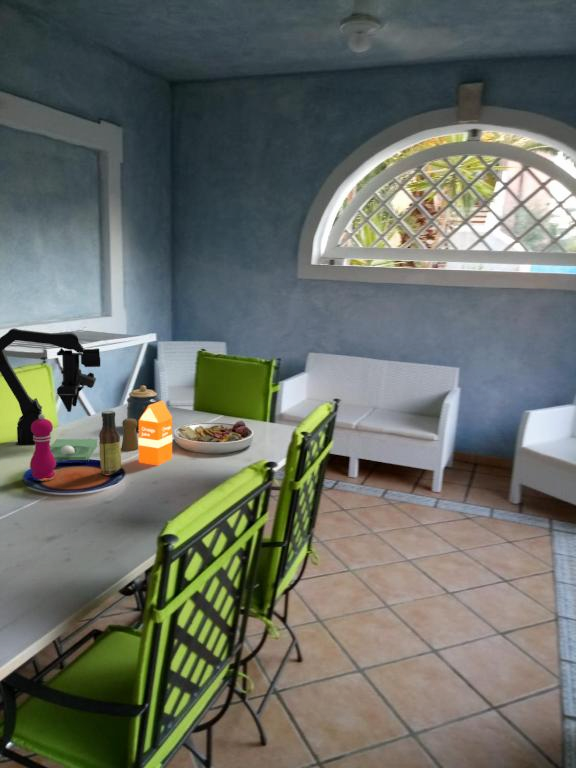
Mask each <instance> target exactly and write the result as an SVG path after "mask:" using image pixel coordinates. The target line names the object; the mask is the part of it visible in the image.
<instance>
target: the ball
mask: <svg viewBox="0 0 576 768" xmlns="http://www.w3.org/2000/svg"><path fill="white" fill-rule="evenodd" d="M74 452H75V450H74V448H73V447H72V446H69V445H66V446H64V447H63V448H62V449H61V452H60V453H63V454H69V453H74Z"/></svg>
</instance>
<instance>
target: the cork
mask: <svg viewBox="0 0 576 768" xmlns="http://www.w3.org/2000/svg"><path fill="white" fill-rule="evenodd" d="M121 424H122V427H123V433H122V434H123V435H122V442H121V447H120V449H121V450H122V451H126V452H134V451H138V450H139V439H138V433H137V431H136V427H137V420H136V419H133V418H128V419H127V418H125V419H123V421H122V423H121Z"/></svg>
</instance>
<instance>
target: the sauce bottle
mask: <svg viewBox="0 0 576 768" xmlns="http://www.w3.org/2000/svg"><path fill="white" fill-rule="evenodd" d="M101 418H102V420H101V421H102V426H101V430H100V431H99V435H98V437H99V438H98V439H99V462H100V470H101V471H100V472H101V474H102V473H103V474H113V473H115V472H117V471H119V470H120V469H121V470H122V453H121V452H122V451H121V450H122V449H121V437H120V433H119V431H118V428H117V425H116V412H115V411H114V410H105V411H104V410H103V411H102V412H101ZM103 474H102V475H103Z"/></svg>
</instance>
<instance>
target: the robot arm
mask: <svg viewBox="0 0 576 768" xmlns="http://www.w3.org/2000/svg"><path fill="white" fill-rule="evenodd" d="M79 340H80V339H79V336H78V335H77V334H76V333H74V332H57V333H56V332H54V333H53V332H52V333H51V332H50V333H49V332H43V331H35V330H34V331H33V330H27V329H19V328H11V329H9V330H8V331H7V332H6V333H5V334H3V335H2V336H0V374H1V376H2V377H3V379H4V381H5V382H6V384H7V386H8V387H9V388H10V391H11V392H12V394H13V396H14V397H15V399H16V400H17V402H18V404H19V409H20V411H21V416H20V417H19V418H18V421H17V426H16V434H17V435H16V438H17V441H16V443H15V445H16V446H17V445H18V446H19V445H20V446H21V445H26V446H27V445H28V446H29V445H30V446H31V445H35V441H34V440H33V439H34V438H33V436H34V434H33V433H32V431H31V425H32V423H33V422H34V421H35V420H38V419H39V418H38V416H39V415H40V414H43V406H42V405H40V402H39V401H38V398H37V397H36V398H31V396H30V395H29V393H28V392H27V390H26V388H25V387H24V385H23V384H22V382H21V381H20V379H19V377H18V376H17V374H16V373H15V371H14V369H13V367H12V365H11V364H10V362H9V359H8V355H7V352H6V350H5V349H6V348H7V347H9V346H10V345H11V344H13V342H17V341H20V342H28V343H36V344H45V345H46V344H47V345H53V346H55V347H58V348H60V349H59V350H58V351H57V352H56V356H62V357H61V359H62V360H61V361H62V370H60V371H61V374H62V381H61V385H60V386H58V387H57V388H56V394H57V396H59V398H60V401H62V403H63V405H64V407H65V409H66V411H67V412H68V413H71V412H72V409H73V408H72V407H76V406H77V404H78V400H79V395H80V392H81V391H82V390H83V389H84V387H87V388H90V389H93V387H94V386H95V383H96V381H97V377H95V374H94V373H93V372H89V373H87V374H86V373H85V374H84V373H82V369H81V368H80V364H81V365H83V366H84V368H100V367H101V355H100V348H84V347H83V346H82V345H81V343H80V341H79ZM64 349H65V350H64ZM73 351H75V352H73Z"/></svg>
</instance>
